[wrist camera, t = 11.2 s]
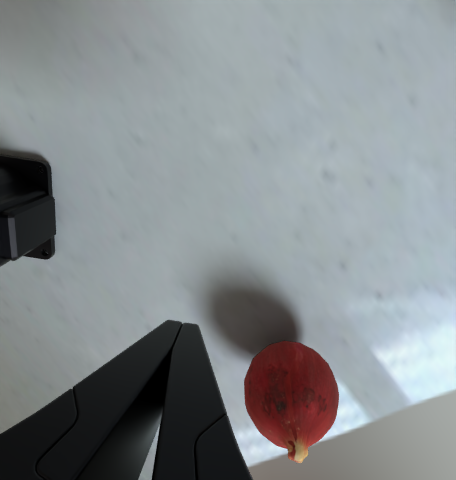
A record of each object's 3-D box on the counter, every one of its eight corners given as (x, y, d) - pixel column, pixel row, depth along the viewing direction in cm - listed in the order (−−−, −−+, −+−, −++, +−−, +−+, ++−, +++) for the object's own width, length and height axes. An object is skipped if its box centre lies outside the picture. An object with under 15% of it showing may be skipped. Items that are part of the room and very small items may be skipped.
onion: (233, 331, 25) (224, 428, 17) (310, 307, 23) (337, 400, 16) (261, 391, 26) (265, 502, 19) (335, 371, 25) (369, 481, 18)
